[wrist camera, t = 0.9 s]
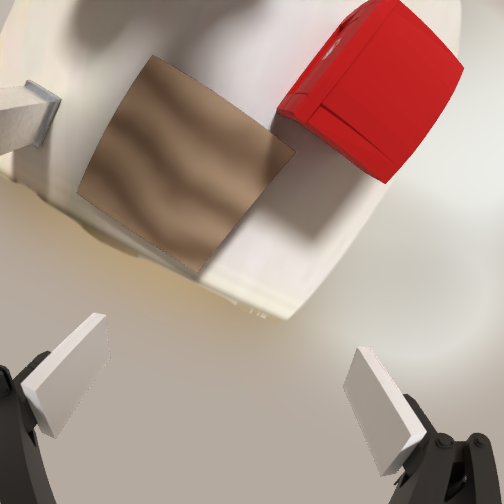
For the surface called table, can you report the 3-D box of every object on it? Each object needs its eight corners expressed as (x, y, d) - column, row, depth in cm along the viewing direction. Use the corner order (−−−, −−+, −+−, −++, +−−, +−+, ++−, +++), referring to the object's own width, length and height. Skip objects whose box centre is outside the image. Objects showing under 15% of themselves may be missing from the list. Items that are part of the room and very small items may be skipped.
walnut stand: (164, 60, 29) (152, 54, 24) (289, 146, 35) (295, 152, 30) (93, 182, 36) (76, 193, 32) (202, 254, 42) (197, 272, 38)
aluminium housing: (30, 80, 27) (-40, 88, 14) (61, 98, 30) (-12, 110, 16) (12, 125, 30) (-54, 148, 17) (41, 146, 33) (-27, 175, 19)
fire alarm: (340, 20, 26) (390, -16, 13) (401, 71, 29) (471, 66, 16) (272, 109, 33) (289, 111, 19) (339, 156, 36) (389, 189, 22)
